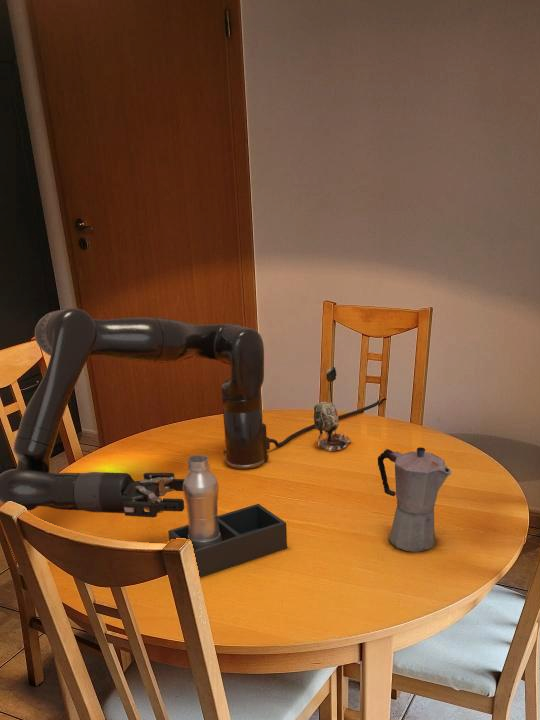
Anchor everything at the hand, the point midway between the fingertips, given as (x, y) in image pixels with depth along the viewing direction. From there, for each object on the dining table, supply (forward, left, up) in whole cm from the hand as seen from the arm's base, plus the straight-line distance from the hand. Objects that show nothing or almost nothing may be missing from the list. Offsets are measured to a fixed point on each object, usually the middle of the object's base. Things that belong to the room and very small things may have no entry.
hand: (189, 495), depth 145 cm
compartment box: (-7, +1, -14) cm, 15 cm away
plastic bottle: (-2, +1, -13) cm, 13 cm away
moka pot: (-38, +18, -14) cm, 44 cm away
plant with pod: (-55, -32, -14) cm, 65 cm away
